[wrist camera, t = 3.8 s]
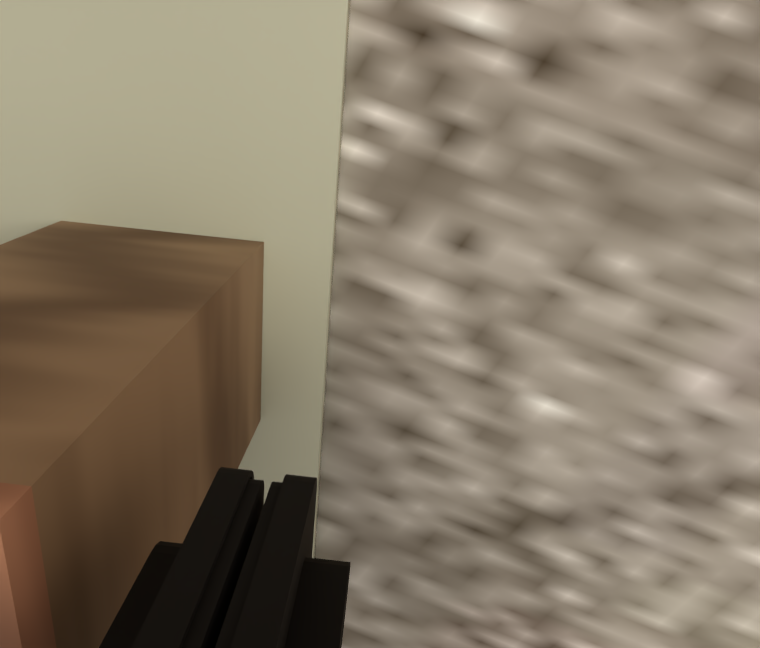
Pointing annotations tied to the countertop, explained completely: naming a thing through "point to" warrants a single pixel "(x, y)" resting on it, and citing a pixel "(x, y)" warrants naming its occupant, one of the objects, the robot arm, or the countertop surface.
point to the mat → (193, 158)
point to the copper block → (114, 410)
